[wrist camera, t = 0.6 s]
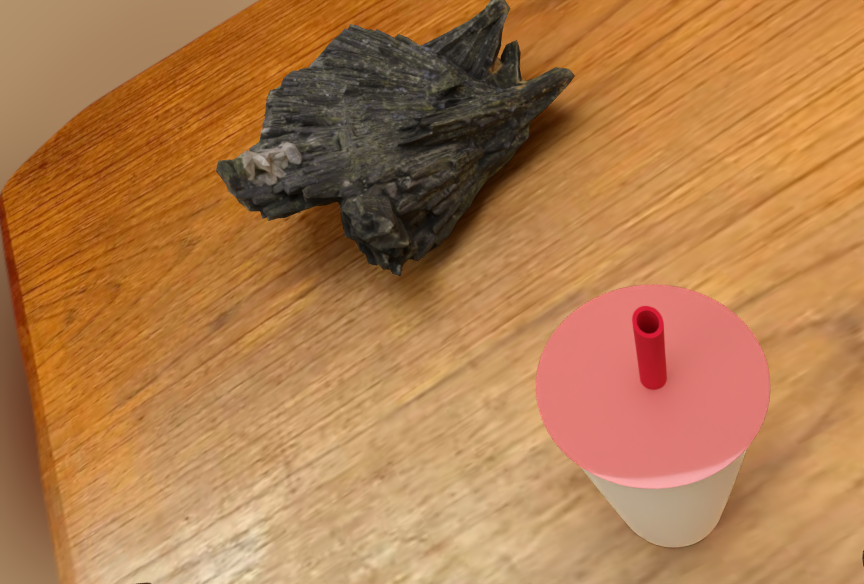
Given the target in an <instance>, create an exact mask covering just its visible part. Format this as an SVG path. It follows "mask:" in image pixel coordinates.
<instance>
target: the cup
mask: <svg viewBox="0 0 864 584" xmlns="http://www.w3.org/2000/svg"><path fill="white" fill-rule="evenodd" d="M536 397H537V403H538V408H539V412H540V415H541V418H542V420H543V423H544V425H545V427H546V429H547V431H548V433H549V434H550V436H551V437H552V439H553V440H554V442H555V443H556V444H557V446H558V447H559V448H560V449H561V450H562V451H563V452H564V453H565V454H566V455H567V456H568V457H569V458H570V459H571V460H572V461H573V462H575V463H576V464H577V465H579V466H580V467H581V468H582V469H583V471H584V472H585V473H586V474H587V476H588V477H589V478H590V479H591V481H592V482H593V483H594V484H595V486H596V487H597V488H598V489H599V491H600V492H601V493H602V494H603V496H604V497H605V498H606V499H607V501H608V502H609V503H610V504H611V506H612V507H613V508H614V509H615V511H616V512H617V513H618V514H619V516H620V517H621V518H622V519H623V520H624V521H625V522H626V523H627V525H628V526H629V527H630V528H631V529H632V530H633V531H634V532H635V533H636V534H637V535H639V536H640V537H641V538H643V539H645V540H646V541H648V542H650V543H653V544H656V545H659V546H663V547H684V546H689V545H692V544H694V543H697V542H699V541H701V540H702V539H704V538H705V537H706V536H708V535H709V534H710V533H711V532H712V531H713V529H714V528H715V527H716V525H717V524H718V522H719V520H720V517H721V515H722V512H723V510H724V508H725V506H726V503H727V501H728V498H729V496H730V493H731V490H732V488H733V485H734V483H735V480H736V477H737V475H738V472H739V469H740V467H741V464H742V461H743V458H744V456H745V453H746V450H747V448H748V446H749V445H750V444H751V442H752V441H753V440H754V438H755V437H756V435H757V433H758V432H759V430H760V428H761V426H762V424H763V421H764V419H765V416H766V413H767V409H768V405H769V398H770V376H769V370H768V365H767V361H766V358H765V355H764V353H763V351H762V348H761V346H760V344H759V342H758V341H757V339H756V337H755V336H754V334H753V333H752V332H751V330H750V329H749V328H748V327H747V325H746V324H745V323H744V322H743V321H742V320H741V319H740V318H739V317H738V316H737V315H736V314H734V313H733V312H732V311H731V310H729V309H728V308H727V307H725V306H724V305H722V304H721V303H719V302H717V301H716V300H714V299H712V298H710V297H708V296H705V295H703V294H701V293H698V292H695V291H692V290H689V289H685V288H681V287H675V286H668V285H637V286H630V287H625V288H621V289H617V290H614V291H610V292H608V293H605V294H602V295H600V296H598V297H596V298H594V299H592V300H590V301H588V302H587V303H585V304H583V305H582V306H580V307H579V308H578V309H576V310H575V311H574V312H572V313H571V314H570V315H569V316H568V317H567V318H566V319H565V320H564V321H563V322H562V323H561V324H560V325H559V326H558V327H557V329H556V330H555V331H554V333H553V334H552V336H551V337H550V339H549V340H548V342H547V344H546V346H545V348H544V350H543V353H542V355H541V358H540V361H539V365H538V370H537V376H536Z"/></svg>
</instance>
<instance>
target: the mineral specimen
mask: <svg viewBox="0 0 864 584" xmlns="http://www.w3.org/2000/svg"><path fill="white" fill-rule="evenodd" d="M509 10H510V7H509V6H508V4H507V3H506V1H505V0H491V1H490V2H489V4H488V5H487V6H486V8H485V9H484V10H483V11H481V12H480V13H479V14H477V15H476V16H475V17H473V18H472V19H471V20H470V21H468V22H466V23H464V24H462V25H460V26H458V27H456V28H454V29H453V30H451V31H449V32H447V33H445V34H443V35H441V36H439V37H438V38H436V39H434V40H432V41H430V42H427V43H425V44H423V45H421V46H420V45H418V44H416V43H415V42H413V41H412V40H410V39H409V38H407V37H405V36H402V35H399V34H398V35H397V36H396V37H395V38H394V37H392V36H390V35H388V34H386V33H384V32H382V31H379V30H377V29H376V31H373V30H372V29H370V30H367V29H363V28H361V27H359V26H356V25H351V24H350V26H349V28H348V30H347V29H344V30H343V32H342V33H341V34H340V35H338V36H337V37H336V38H335V39H334V40H333V41H332V42H331V43H330V44H329V45H328V46H327V47H326V48H325V50H324V51H323V52H322V53H321V54H320V56H319V57H318V58H317V59H316V60H315V61H314V62H313V63H312V64H311V65H310V66H309V67H308V68H304V69H299V70H298V71H292V72H290V73H289V74H288V75H287V76H286V77H284V79H283V81H282V84H281V86H279V87H278V88H276V89H273V90H270V92H269V94H268V97H267V103H266V113H265V115H264V116H265V120H264V122H263V130H262V131H261V137H260V141H259V143H257V144H256V145H254V146H253V147H251V148H250V149H249V151H245V152H244V153H243V154H241V155H240V156H238V157H237V158H235V159H234V160H222V161H218V164H217V169H216V172H217V173H218V174H219V176H220V177H221V178H222V180H223V181H224V183H225V184H226V186H227V189H228V192H230V193H231V194H232V195H234V196H235V197H236V198H237V200H238V202H239V203H241V204H242V205H243V206H244V207H246V208H247V209H248V210H249V211H260V212H261V215H262V219H263V218H266V217H267V219H268V221H270V220H274V219H277V218H286V217H288V216H291V215H293V214H295V213H300V211H303V210H306V209H308V208H311V207H314V206H322V205H327V204H331V203H334V202H338V203H339V204H340V208H341V219H342V223H343V229H344V230H345V233H344V236H346V237H348V238H350V239H352V240H355V241H356V243H357V245H358V247H359V250H360V251H361V252H362V253H364V254H365V255H366V257H367V260H368V263H369V264H372V265H376V266H377V265H378V264H379V265H380V266H381V267H382V269H388V270H389V269H390V270H391V272H392V273H393V274H394V275H398V276H400V275H401V271H402V267H403V263H404V262H405V261H407V260H408V259H413V260H415V261H416V260H417V261H418V260H420V259H421V258H423V257H424V256H425V255H426V254H427V253H428V252H430V251H431V250H433V249H434V248H436V247H437V246H439V245H440V244H441V243H442V242H443V241H444V240H445V239H446V238H447V237H448V236H449V235H450V233H451V231H452V230H453V228H454V226H455V224H456V222H457V220H458V219H459V218H460V217H461V216H462V215H463V214H464V213H465V212H466V210H467V209H468V208H469V207H470V206H471V203H472V201H473V199H474V197H475V196H476V194H477V193H478V191H479V190H480V189H481V187H482V186H483V185H484V183H485V182H486V181H487V180H488V179H489V178H491V177H492V176H493V175H494V174H495V173H496V172H497V171H498V170H500V169H501V168H502V167H503V166H504V165H505V164H506V163H507V162H508V161H510V160H511V159H512V157H513V156H514V154H515V153H516V151H517V150H518V148H519V147H520V146H521V145H522V144H523V143H524V142H525V141H526V140H527V138H528V137H529V125H530V122H531V121H532V120H533V119H534V118H535V117H536V116H538V115H539V114H540V113H541V112H542V111H543V110H545V109H546V108H547V107H548V106H549V105H550V104H551V103H552V102H553V101H554V100H555V99H556V97H557V96H558V95H559V94H560V93H561V92H562V91H563V90H564V89H565V88H566V87H567V85H568V84H569V83H570V82H571V81H572V79H573V78H574V74H573V73H572V72H571V71H570V70H569V69H566V68H557V67H555V68H554V69H552V70H550V71H548V72H546V73H544V74H542V75H540V76H538V77H536V78H534V79H530V80H529V81H526V80H524V79H521V73H520V66H519V65H520V49H519V45H518V42H517V40H516V41H514V42H511V43H509V44H507V45H506V47H505V49H504V51H503V53H502V55H501V60H500V59H499V58H498V57H497V56H498V53H499V50H500V47H501V39H502V31H503V25H504V23H505V20H506V17H507V15H508V12H509Z"/></svg>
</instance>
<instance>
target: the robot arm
mask: <svg viewBox="0 0 864 584" xmlns="http://www.w3.org/2000/svg"><path fill="white" fill-rule="evenodd" d="M862 559H863V566H864V551H863V557H862ZM138 584H151V583H138Z"/></svg>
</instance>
